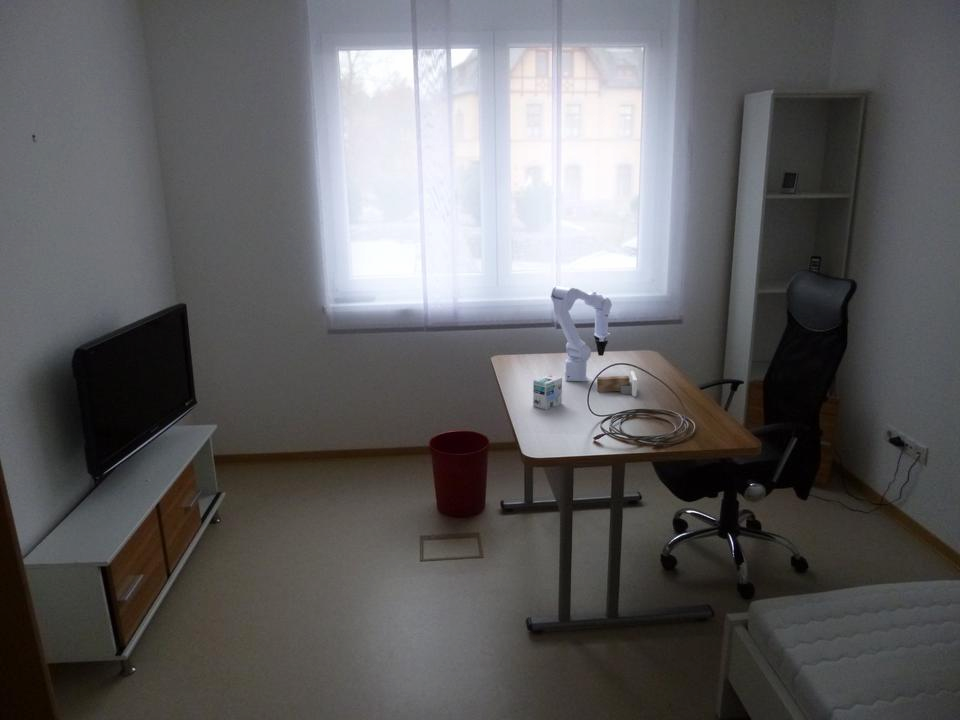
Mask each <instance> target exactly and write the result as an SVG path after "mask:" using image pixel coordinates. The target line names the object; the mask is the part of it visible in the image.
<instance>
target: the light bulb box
mask: <svg viewBox="0 0 960 720" xmlns="http://www.w3.org/2000/svg"><path fill="white" fill-rule="evenodd" d="M532 390H533V394H532V395H533V397H532V400H533V401H532V406H533V407H536V408H539V409H542V410H546V411H547V410H549V409H551V408H553V407H556V406H558V405H561V404H562V402H563V401H562V399H563V398H562V396H563V395H562V394H563V377H560V376H555V375H552V374H547V375H546V376H545V375H544V376H542V377H540V378H537V379H536V378H535V379H534V380H533V389H532Z"/></svg>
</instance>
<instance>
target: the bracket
mask: <svg viewBox="0 0 960 720" xmlns="http://www.w3.org/2000/svg"><path fill="white" fill-rule="evenodd" d="M637 388H638V379H637V376H636V374H635V370H630V371H629V386H621V391H619V393H620V394H621V395H622V394H623V395H625V394H626V395H627V394H628V395H631V396H632V397H637V392H638V391H637Z"/></svg>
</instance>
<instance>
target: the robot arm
mask: <svg viewBox="0 0 960 720" xmlns="http://www.w3.org/2000/svg"><path fill="white" fill-rule="evenodd" d="M550 298H551V301H552V303H553V309H554V310H553V311H554V315H555V317H556V319H557V321H558V323H559V326H560V328H561V330H562V333H563V334H564V336H565V339H566V341H567V342H566V345H565V348H566V354H567V356H568V359H565V371H564V377H565V381H566V382H588V375H587V366H588V365H587V362H588V361H589V360H590V358H591V355H592V349H591V347H590V346H588V345H587V343H586V342H585V341H584V340H582V339H581V337H580V335H579V332H578V330H577V328H576V325H575V323H574V322H573V319H572V317H571V314H570V312H569V311H571V310H572V308H573V306H574V305H575V302H576V300H578V299H579V300H582V301H584V304H585V305H587V306H589V307H592V308H593V309H595V315H594V333H593V337H594V339H595V340H594V342H595V344H596V351H597V355H598V356H599V357H600V356H601V357H603V356H604V354H605V351H606V350H605V349H606V347H607V344H609V343H608V342H609V341H608V340H606V339H607V336H611V333H610V332H608V329H609V314H610V310H611V308H612V305H613V304H612V300H610V298H608V297H604V296H603V295H602V294H597V292H595V291H591V292H587V293H586V292H585V291H582V290H580V289H579V288H573V287H568V286H561V285H554V287H553V288H552V290H551V295H550Z"/></svg>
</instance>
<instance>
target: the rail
mask: <svg viewBox="0 0 960 720" xmlns="http://www.w3.org/2000/svg"><path fill="white" fill-rule="evenodd" d="M629 382H630V375H617V376H616V375H615V376H597V377H596V385H597V387H596V388H597V392H598V393H601V392H605V393H606V392H620V391H621V386H629Z"/></svg>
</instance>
